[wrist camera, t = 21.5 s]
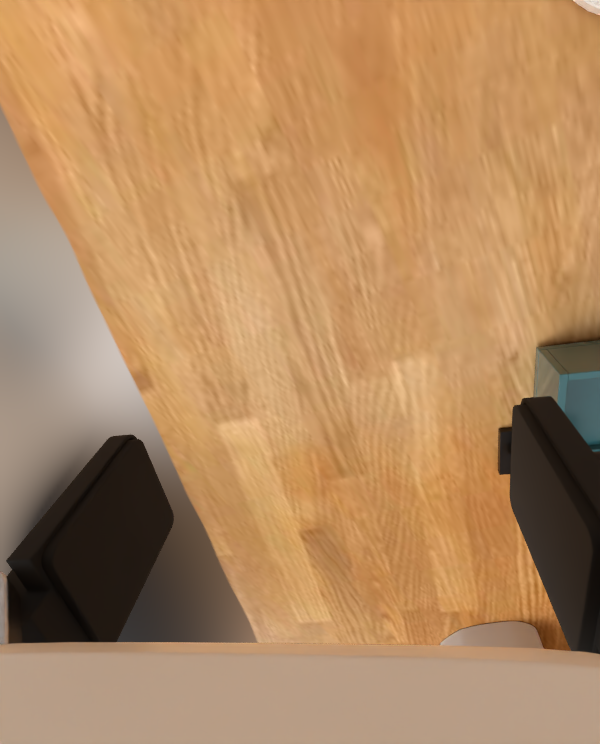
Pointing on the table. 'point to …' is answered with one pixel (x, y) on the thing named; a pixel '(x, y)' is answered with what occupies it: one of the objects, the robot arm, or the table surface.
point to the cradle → (504, 450)
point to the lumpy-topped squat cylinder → (497, 636)
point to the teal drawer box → (573, 384)
